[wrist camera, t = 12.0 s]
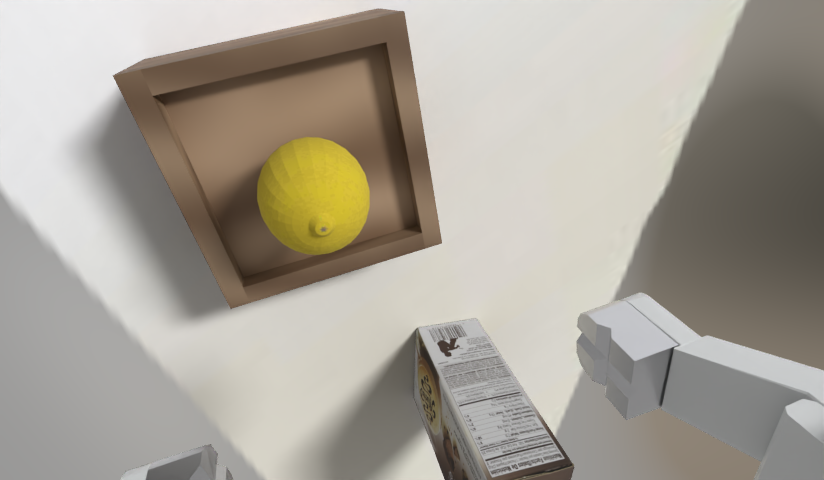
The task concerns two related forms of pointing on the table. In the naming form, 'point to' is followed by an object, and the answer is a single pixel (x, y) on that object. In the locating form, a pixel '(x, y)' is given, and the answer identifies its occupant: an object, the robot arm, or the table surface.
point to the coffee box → (480, 410)
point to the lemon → (313, 195)
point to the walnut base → (279, 124)
